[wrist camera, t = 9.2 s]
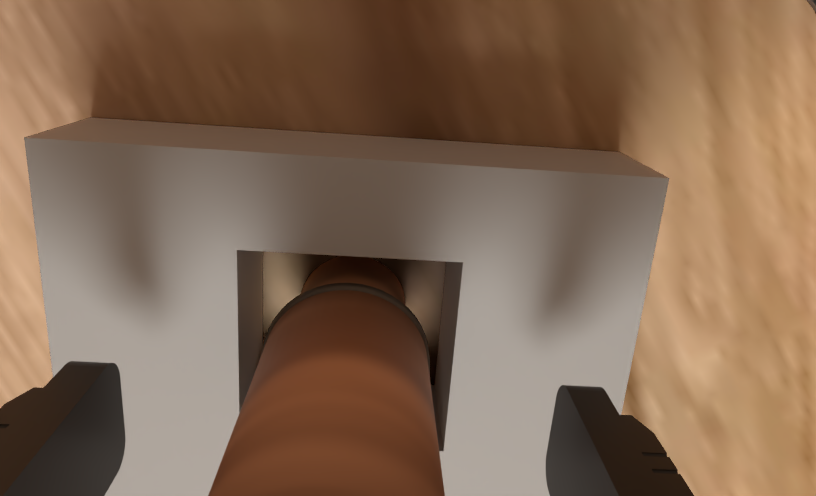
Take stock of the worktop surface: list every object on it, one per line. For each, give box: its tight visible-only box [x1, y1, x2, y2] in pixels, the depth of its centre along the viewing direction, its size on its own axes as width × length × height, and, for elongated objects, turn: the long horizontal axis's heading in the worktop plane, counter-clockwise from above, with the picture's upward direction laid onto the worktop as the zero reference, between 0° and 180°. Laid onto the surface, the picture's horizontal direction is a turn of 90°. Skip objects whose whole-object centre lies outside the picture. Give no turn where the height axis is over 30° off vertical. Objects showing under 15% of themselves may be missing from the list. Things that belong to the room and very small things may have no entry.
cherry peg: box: [208, 256, 445, 496], centre depth 13 cm, size 4×4×10 cm
